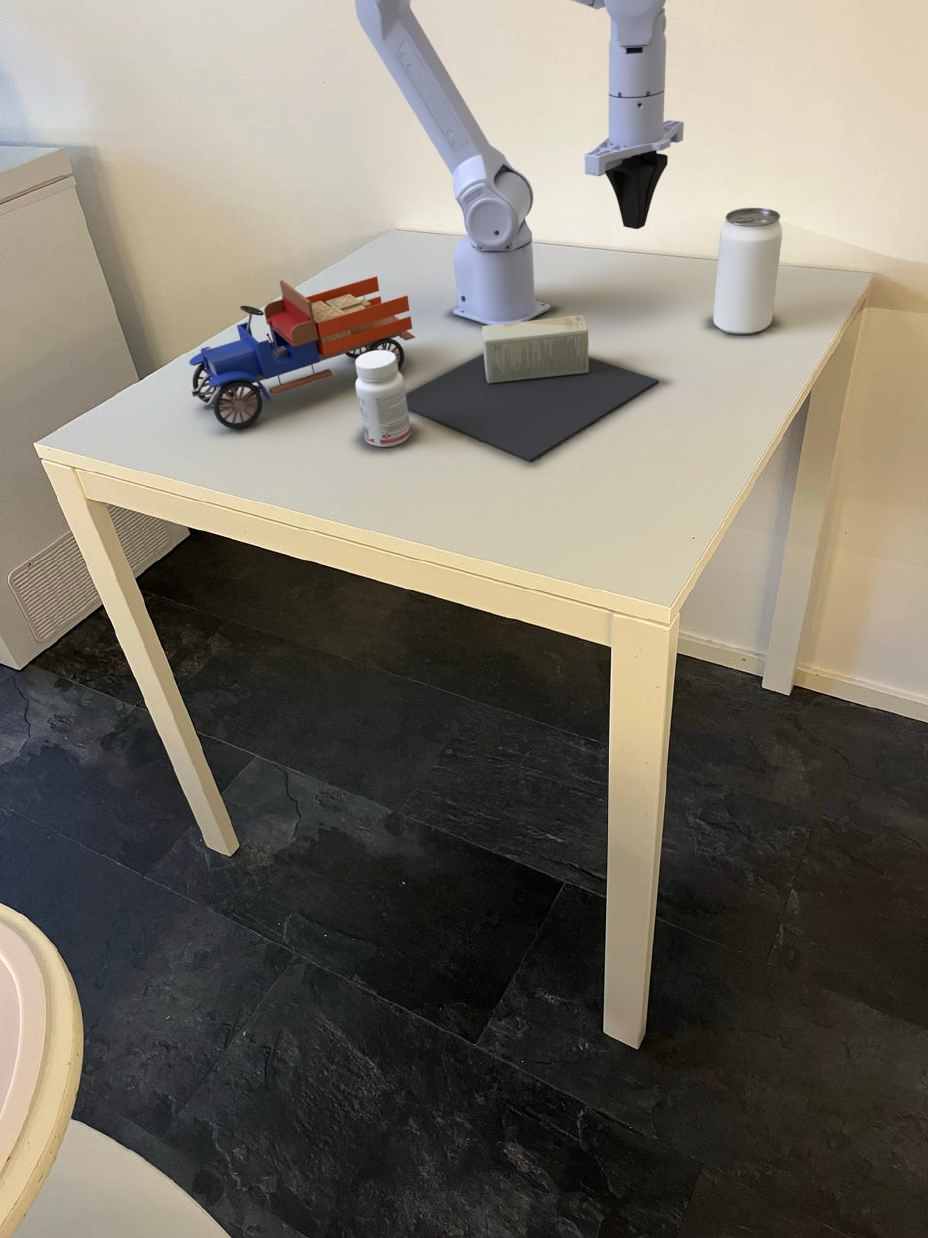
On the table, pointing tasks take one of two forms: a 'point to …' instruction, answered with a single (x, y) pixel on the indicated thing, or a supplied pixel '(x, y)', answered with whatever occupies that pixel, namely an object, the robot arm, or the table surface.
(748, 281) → the can
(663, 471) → the table surface
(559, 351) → the box
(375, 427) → the pill bottle
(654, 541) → the table surface
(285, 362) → the toy truck
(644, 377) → the mat
